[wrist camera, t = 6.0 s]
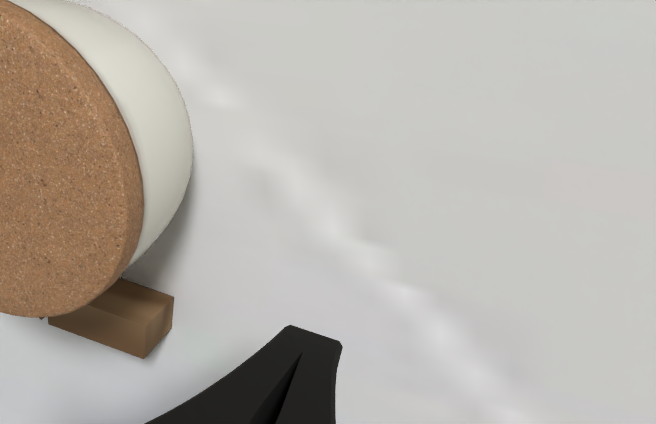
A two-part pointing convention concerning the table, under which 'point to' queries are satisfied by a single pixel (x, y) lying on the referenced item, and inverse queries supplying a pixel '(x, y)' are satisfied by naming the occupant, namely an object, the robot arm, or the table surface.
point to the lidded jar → (81, 154)
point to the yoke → (122, 318)
